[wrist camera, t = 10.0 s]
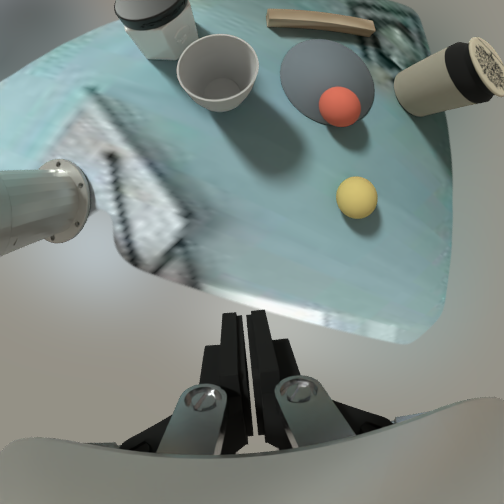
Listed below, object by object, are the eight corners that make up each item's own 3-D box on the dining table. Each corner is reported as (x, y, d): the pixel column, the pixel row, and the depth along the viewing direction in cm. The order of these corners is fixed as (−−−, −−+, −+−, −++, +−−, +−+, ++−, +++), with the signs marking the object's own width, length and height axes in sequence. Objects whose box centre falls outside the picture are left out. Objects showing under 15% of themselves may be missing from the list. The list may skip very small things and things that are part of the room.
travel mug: (422, 126, 35) (506, 112, 17) (385, 94, 33) (464, 59, 16) (436, 93, 33) (512, 71, 16) (401, 62, 32) (473, 23, 14)
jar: (166, 72, 31) (141, 34, 20) (129, 48, 29) (97, 10, 18) (211, 31, 30) (204, -17, 18) (172, 9, 28) (156, -37, 17)
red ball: (334, 87, 27) (320, 77, 30) (320, 127, 31) (308, 112, 34) (373, 101, 28) (355, 89, 32) (358, 138, 32) (343, 122, 36)
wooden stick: (368, 37, 31) (375, 30, 28) (267, 27, 30) (269, 18, 28) (366, 27, 30) (372, 21, 28) (266, 17, 30) (267, 8, 27)
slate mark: (379, 128, 35) (379, 128, 34) (285, 125, 34) (285, 124, 34) (365, 45, 31) (365, 45, 31) (275, 37, 31) (275, 36, 30)
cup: (262, 108, 33) (272, 83, 24) (205, 132, 34) (194, 114, 24) (237, 59, 31) (239, 24, 22) (182, 82, 32) (165, 53, 22)
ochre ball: (361, 174, 30) (339, 166, 35) (341, 215, 32) (322, 202, 37) (391, 192, 32) (368, 183, 37) (373, 230, 34) (352, 216, 38)
